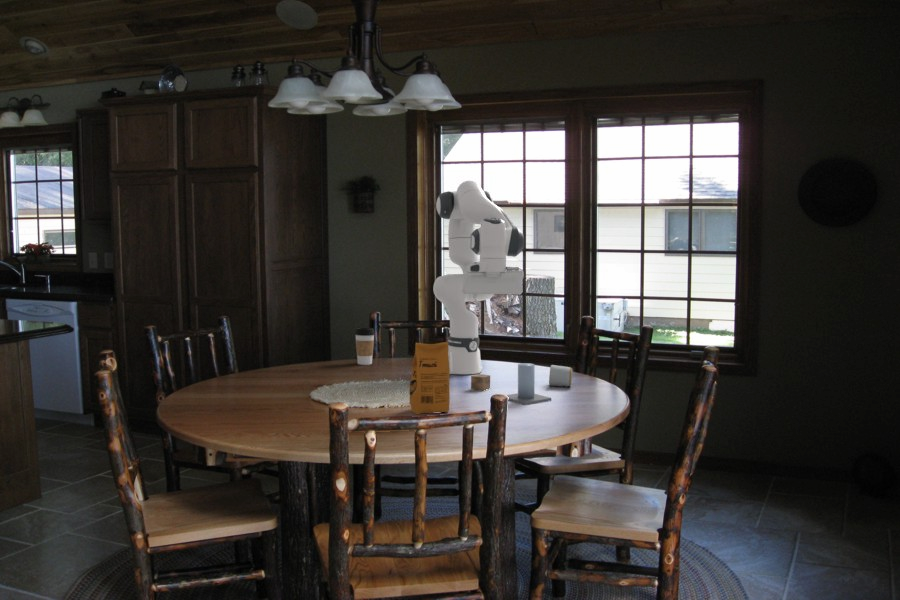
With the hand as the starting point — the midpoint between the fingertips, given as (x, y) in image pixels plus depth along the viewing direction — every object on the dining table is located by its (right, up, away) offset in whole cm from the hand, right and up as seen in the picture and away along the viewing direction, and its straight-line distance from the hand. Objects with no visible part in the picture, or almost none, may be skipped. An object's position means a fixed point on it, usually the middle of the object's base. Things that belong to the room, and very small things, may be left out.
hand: (492, 307), depth 285 cm
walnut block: (-3, -30, +18) cm, 35 cm away
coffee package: (-21, -33, -16) cm, 42 cm away
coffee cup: (-50, -24, +68) cm, 87 cm away
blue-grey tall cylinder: (+12, -30, +2) cm, 33 cm away
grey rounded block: (+26, -29, +27) cm, 48 cm away
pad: (+12, -31, +2) cm, 33 cm away
